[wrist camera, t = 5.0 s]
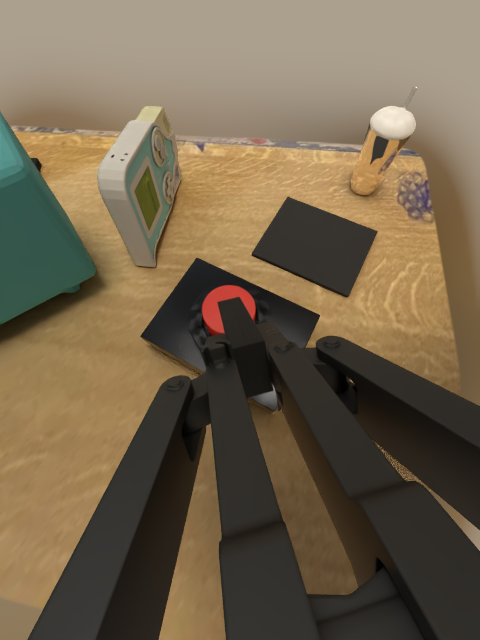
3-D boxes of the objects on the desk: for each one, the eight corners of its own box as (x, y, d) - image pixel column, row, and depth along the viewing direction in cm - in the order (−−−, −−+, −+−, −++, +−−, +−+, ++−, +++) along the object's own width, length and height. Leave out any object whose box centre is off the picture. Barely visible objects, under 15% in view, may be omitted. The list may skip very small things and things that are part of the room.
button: (263, 311, 25) (265, 298, 22) (240, 352, 23) (239, 343, 21) (221, 290, 25) (219, 276, 23) (196, 329, 24) (191, 318, 22)
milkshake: (388, 180, 36) (437, 95, 27) (370, 204, 35) (415, 123, 26) (357, 166, 38) (394, 79, 28) (338, 189, 36) (371, 106, 27)
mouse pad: (376, 233, 33) (377, 231, 33) (347, 297, 30) (348, 296, 30) (287, 199, 36) (287, 196, 35) (251, 255, 32) (251, 253, 32)
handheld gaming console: (187, 189, 39) (157, 268, 32) (168, 188, 39) (134, 266, 32) (170, 96, 30) (121, 178, 22) (145, 94, 30) (89, 175, 22)
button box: (312, 326, 29) (325, 307, 24) (271, 413, 26) (276, 410, 21) (201, 273, 32) (193, 246, 27) (151, 346, 28) (132, 329, 24)
